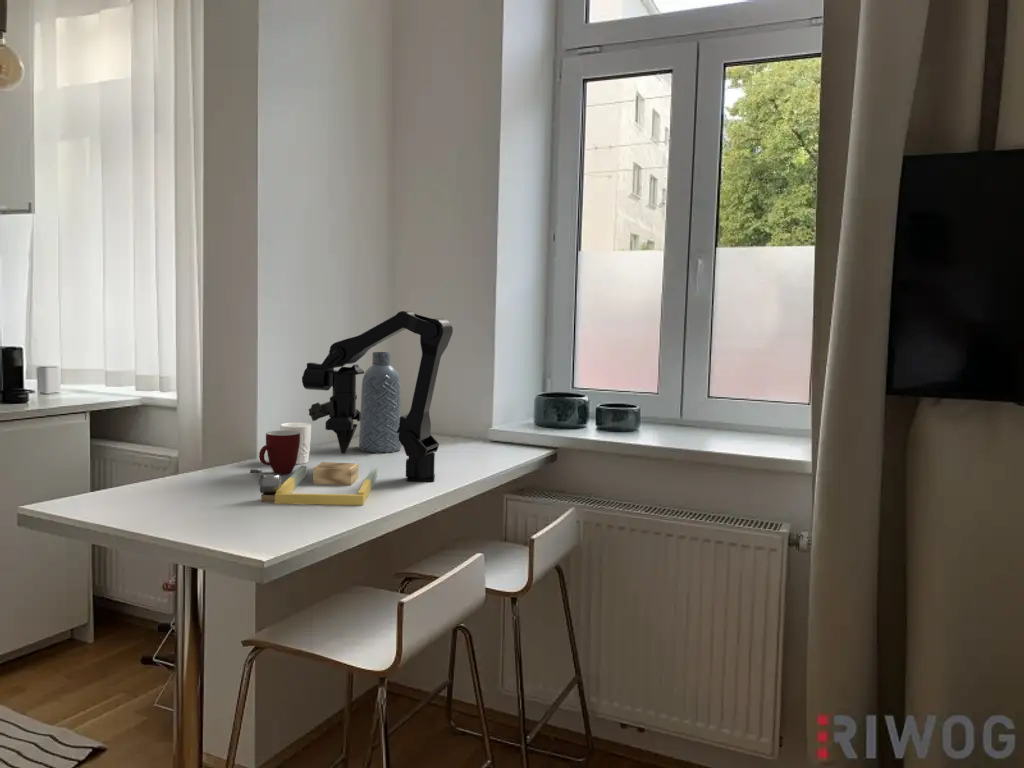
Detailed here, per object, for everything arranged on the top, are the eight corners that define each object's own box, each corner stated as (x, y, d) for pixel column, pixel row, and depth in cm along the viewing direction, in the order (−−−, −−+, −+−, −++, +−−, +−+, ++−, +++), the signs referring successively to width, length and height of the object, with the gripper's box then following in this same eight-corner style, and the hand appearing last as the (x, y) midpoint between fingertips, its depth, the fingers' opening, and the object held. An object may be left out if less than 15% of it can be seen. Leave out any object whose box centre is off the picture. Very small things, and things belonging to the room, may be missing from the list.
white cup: (309, 458, 224) (309, 422, 223) (312, 464, 216) (312, 426, 215) (279, 459, 221) (279, 422, 220) (280, 465, 214) (281, 427, 213)
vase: (350, 449, 239) (351, 351, 236) (379, 444, 249) (380, 350, 246) (380, 455, 232) (382, 354, 230) (409, 449, 242) (411, 353, 239)
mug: (274, 479, 197) (274, 438, 196) (250, 475, 201) (250, 434, 200) (306, 472, 206) (306, 432, 205) (283, 468, 210) (283, 429, 209)
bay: (377, 477, 203) (377, 467, 203) (363, 505, 175) (363, 493, 175) (301, 475, 202) (301, 465, 202) (274, 503, 174) (275, 491, 174)
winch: (281, 498, 179) (281, 467, 179) (277, 502, 175) (277, 471, 175) (253, 497, 179) (253, 467, 178) (248, 502, 175) (248, 471, 174)
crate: (358, 479, 201) (358, 463, 200) (350, 486, 194) (351, 468, 193) (322, 478, 201) (322, 461, 201) (313, 484, 194) (313, 467, 194)
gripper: (318, 387, 215) (317, 446, 217) (304, 395, 197) (303, 459, 198) (361, 388, 216) (360, 447, 218) (351, 396, 197) (350, 460, 199)
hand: (343, 453), depth 208 cm, fingers closed
